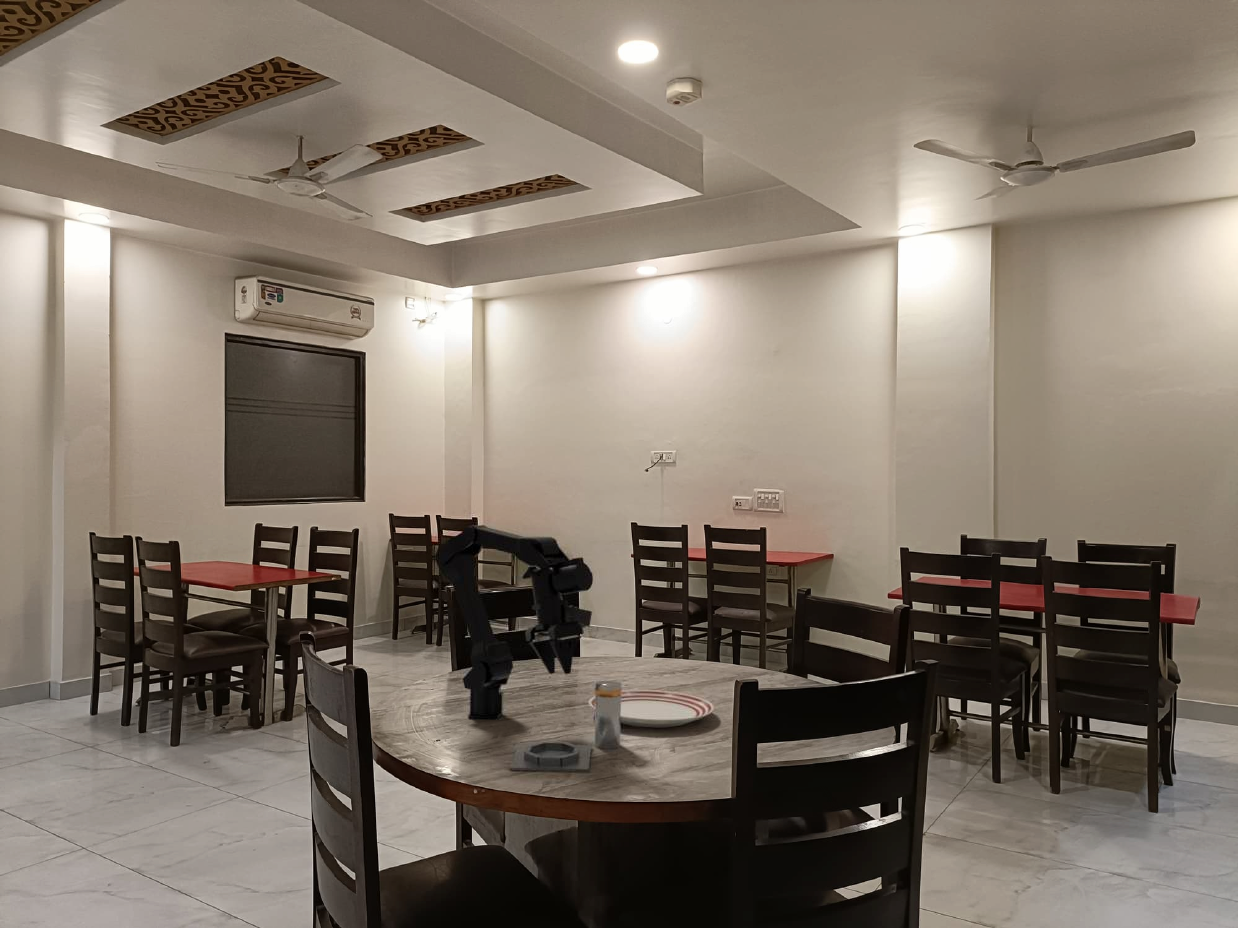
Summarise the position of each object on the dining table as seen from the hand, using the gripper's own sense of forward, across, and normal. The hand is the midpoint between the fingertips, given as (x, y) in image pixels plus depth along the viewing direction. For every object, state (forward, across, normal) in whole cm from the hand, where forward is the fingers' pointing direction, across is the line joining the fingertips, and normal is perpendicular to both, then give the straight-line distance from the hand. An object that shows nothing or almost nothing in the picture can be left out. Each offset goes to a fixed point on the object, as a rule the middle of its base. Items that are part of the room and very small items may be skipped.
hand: (559, 673), depth 185 cm
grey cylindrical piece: (+14, -9, -4) cm, 18 cm away
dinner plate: (+14, +6, -22) cm, 26 cm away
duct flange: (+14, -13, +9) cm, 21 cm away
